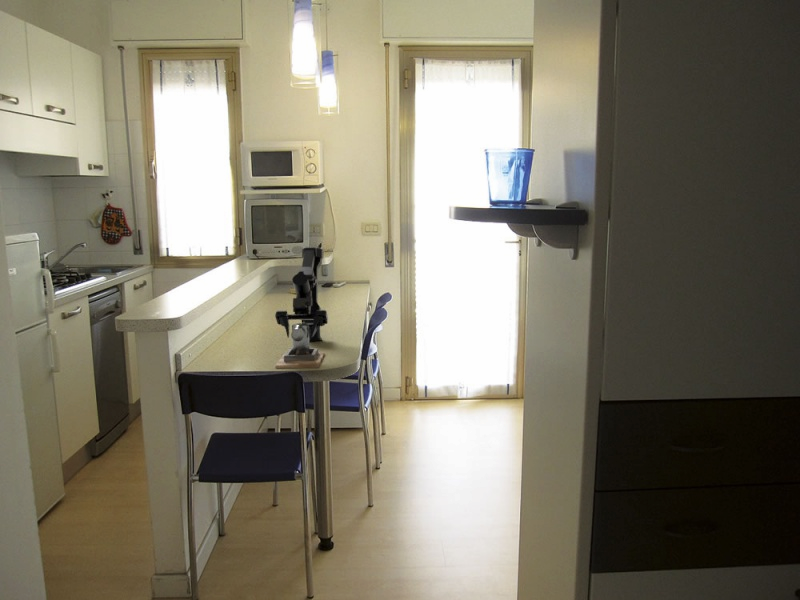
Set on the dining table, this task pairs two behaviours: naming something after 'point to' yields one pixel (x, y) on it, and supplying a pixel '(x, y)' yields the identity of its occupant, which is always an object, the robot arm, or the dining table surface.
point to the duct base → (300, 359)
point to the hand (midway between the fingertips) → (300, 336)
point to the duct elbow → (300, 339)
